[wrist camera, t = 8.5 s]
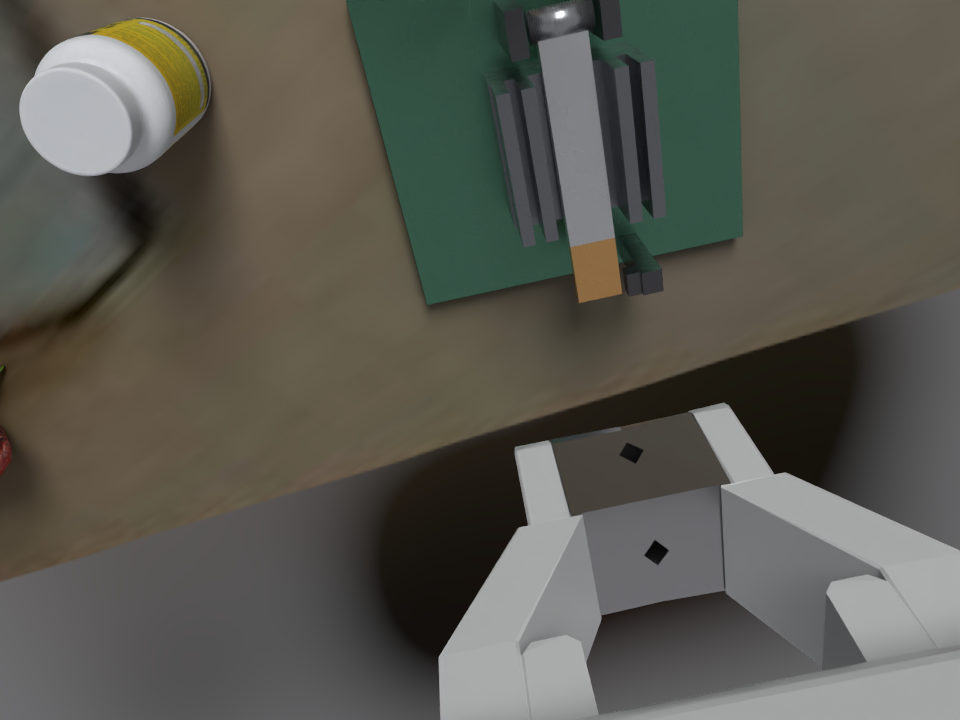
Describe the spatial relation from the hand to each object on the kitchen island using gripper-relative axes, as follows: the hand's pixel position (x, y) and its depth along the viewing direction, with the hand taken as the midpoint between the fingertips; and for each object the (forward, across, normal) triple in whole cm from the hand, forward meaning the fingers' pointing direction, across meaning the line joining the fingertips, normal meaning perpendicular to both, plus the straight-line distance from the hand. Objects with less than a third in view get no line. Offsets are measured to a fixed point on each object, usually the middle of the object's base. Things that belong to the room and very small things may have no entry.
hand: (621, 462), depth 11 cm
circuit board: (+31, -4, +3) cm, 32 cm away
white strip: (+27, -4, +4) cm, 28 cm away
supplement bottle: (+31, +15, -3) cm, 35 cm away
